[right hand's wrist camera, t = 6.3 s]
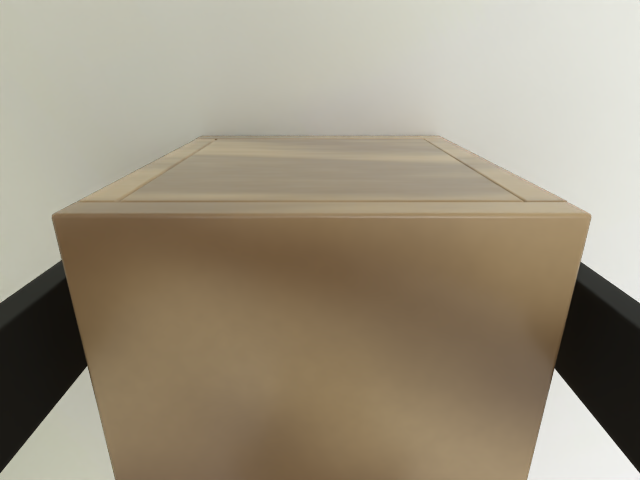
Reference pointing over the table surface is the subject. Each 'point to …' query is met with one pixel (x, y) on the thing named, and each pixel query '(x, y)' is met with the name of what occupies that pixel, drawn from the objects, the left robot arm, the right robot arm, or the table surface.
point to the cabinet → (321, 309)
